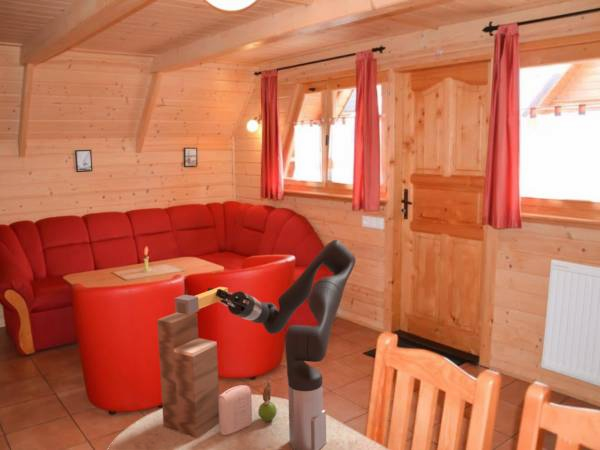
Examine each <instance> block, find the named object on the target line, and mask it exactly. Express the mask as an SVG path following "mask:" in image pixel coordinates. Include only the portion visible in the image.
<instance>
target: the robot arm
mask: <svg viewBox="0 0 600 450" xmlns="http://www.w3.org/2000/svg"><path fill="white" fill-rule="evenodd" d="M355 264H356V256H355V255H354V253H353V252H352V251H350V250H349V248H347V247H346V246H345V245H344V244H343V242H341V241H340V240H339V239H334V240H331V241H330V242H328V243H327V244H326V245H325V246H324V247H323V248H322V249H321V250H320V251H319V253H318V254H317V255H316V256H315V257H314V259H313V260H312V261H311V262H310V263H309V264H308V266H307V267H306V268H305V270H303V272H302V273H301V274H300V276H299V277H298V278H297V279H296V280H295V281H294V282H293V283H292V285H291V286H289V287H288V288H287V289H286V290H285V291H284V292H283V293H282V294H280V296H279V297H278V299H277V301H278V307H279V308H278V307H277V306H276V304H274V303H272V302H262V301H261V300H258V299H257V298H256V297H254V296H252V295H250V294H248V293H246V292H244V291H236V292H230V291H228V292H225V291H223V290H221V289H217V293H216V296H218V297H220V298H222V299H223V300H221V301H218V302H217V303H221V304H222V305H223V306H225V307H227V309H228V311H229V313H231V314H232V315H233V316H237V317H238V318H239V317H240V318H242V319H244V320H246V321H247V320H248V321H249V322H253V323H255V324H262V325H263V327H264V329H265V331H266V333H268V334H270V335H275V334H278V333H280V332H281V331H282V330H283V329H285V328H286V325H287V324H288V322H289V321H290V319H291V317H293V314H294V313H295V312H296V310H297V309H299V308H300V307H301V306H302V305H303V304H304V303H305V302H306V301H308V307H309V310H310V312H311V313H312V315H313V317H314V319H315V320H316V322H317V325H302V324H292V325H290V326H288V328H287V330H286V334H285V340H284V343H285V344H284V346H285V347H284V349H285V359H286V376H287V383H288V384H287V387H288V389H287V391H288V421H289V422H288V425H289V426H288V430H289V432H288V434H289V446H290V448H291V449H292V450H320V449H321V448H323V447H324V446H325V444H327V411H326V410H325V409H324V405H323V404H324V403H323V398H324V397H323V396H324V395H323V392H324V391H323V390H324V389H323V374H322V372H321V371H319V369H317V368H315V367H313V366H311V365H309V364H308V363H306V362H309V363H312V362H313V363H317V362H321V361H323V359H324V358H325V356H326V354H327V351H328V346H329V343H330V339H331V338H330V337H331V334H332V329H333V325H334V322H335V318H336V316H337V312H338V310H339V308H340V304H341V301H342V298H343V294H344V290H345V287H346V285H347V282H348V279H349V277H350V275H351V273H352V271H353V269H354V267H355ZM322 265H324V266H325V268H327V269H328V270H329V272H331V274H332V275H329V276H324V277H322V278H320V279H318V280H317V281H316V282H315V283H314V281H315V277H316V274H317V272H318V270H319V269H320V268H321V267H322ZM213 289H214V288H212V287H208V288H207V290H206V292H207V291H210V290H213ZM307 299H308V300H307Z"/></svg>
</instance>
